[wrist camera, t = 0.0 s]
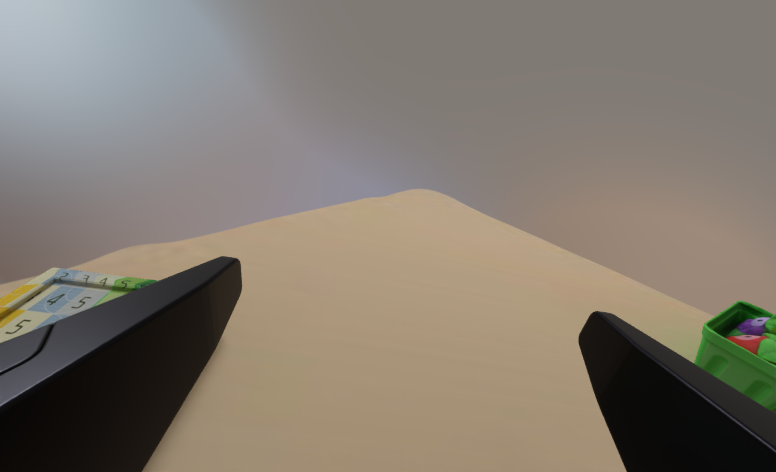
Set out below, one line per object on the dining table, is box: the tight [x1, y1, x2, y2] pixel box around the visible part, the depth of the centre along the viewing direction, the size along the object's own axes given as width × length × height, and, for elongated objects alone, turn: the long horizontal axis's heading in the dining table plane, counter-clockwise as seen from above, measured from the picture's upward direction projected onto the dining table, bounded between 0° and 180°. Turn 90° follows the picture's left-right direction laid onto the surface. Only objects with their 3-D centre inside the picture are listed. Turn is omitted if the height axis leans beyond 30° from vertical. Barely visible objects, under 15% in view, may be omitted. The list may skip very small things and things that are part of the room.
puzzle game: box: [0, 268, 157, 343], centre depth 19 cm, size 12×5×20 cm
